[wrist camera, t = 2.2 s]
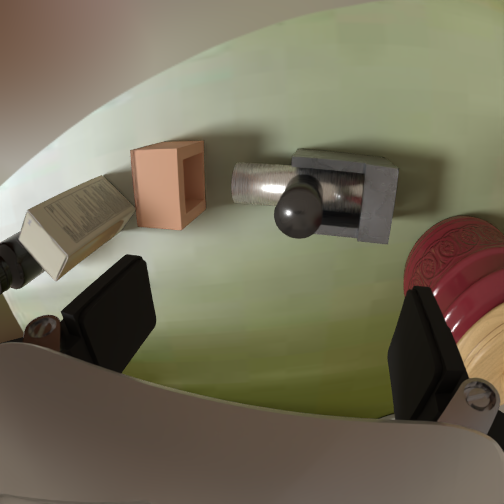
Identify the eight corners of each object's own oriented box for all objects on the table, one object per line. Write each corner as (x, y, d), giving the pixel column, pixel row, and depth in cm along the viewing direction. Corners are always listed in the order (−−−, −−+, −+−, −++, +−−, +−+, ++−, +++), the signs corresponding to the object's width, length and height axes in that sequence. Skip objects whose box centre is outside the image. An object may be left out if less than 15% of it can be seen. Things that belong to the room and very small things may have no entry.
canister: (408, 331, 33) (434, 463, 17) (389, 231, 29) (441, 358, 13) (502, 301, 28) (563, 410, 13) (499, 198, 24) (607, 285, 9)
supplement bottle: (64, 268, 41) (10, 311, 30) (35, 253, 42) (-17, 290, 31) (62, 227, 38) (-1, 266, 27) (33, 214, 38) (-27, 247, 28)
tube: (374, 170, 26) (396, 198, 18) (369, 208, 28) (387, 252, 19) (242, 159, 28) (205, 182, 20) (242, 197, 30) (207, 234, 21)
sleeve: (384, 157, 26) (399, 168, 21) (377, 219, 29) (387, 244, 23) (297, 148, 28) (291, 157, 22) (294, 211, 30) (287, 234, 25)
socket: (203, 140, 29) (176, 148, 24) (205, 209, 32) (181, 230, 27) (162, 141, 30) (130, 150, 25) (166, 206, 33) (137, 226, 28)
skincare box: (88, 199, 35) (15, 237, 24) (102, 173, 33) (24, 206, 22) (122, 234, 36) (54, 284, 25) (139, 210, 34) (67, 257, 23)
